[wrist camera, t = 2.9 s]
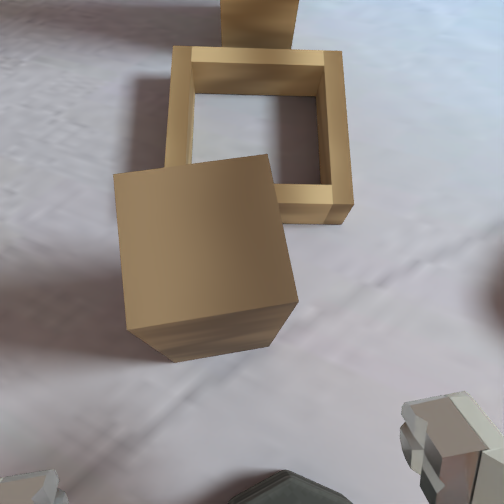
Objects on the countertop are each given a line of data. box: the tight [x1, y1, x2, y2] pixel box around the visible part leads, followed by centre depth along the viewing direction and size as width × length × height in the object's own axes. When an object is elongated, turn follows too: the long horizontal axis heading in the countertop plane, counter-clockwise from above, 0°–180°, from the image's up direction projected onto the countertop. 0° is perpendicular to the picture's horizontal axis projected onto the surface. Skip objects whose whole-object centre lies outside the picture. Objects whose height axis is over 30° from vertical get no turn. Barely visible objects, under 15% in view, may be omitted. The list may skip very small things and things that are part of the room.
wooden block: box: [113, 154, 299, 363], centre depth 17 cm, size 4×4×10 cm
